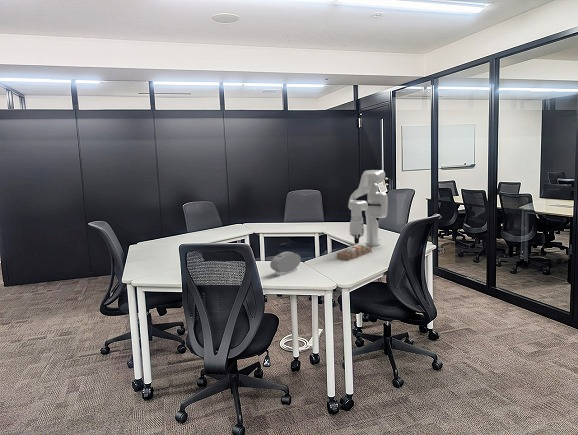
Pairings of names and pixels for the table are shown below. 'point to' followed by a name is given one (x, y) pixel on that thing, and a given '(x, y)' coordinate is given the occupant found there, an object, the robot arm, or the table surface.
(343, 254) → the console
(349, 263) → the table surface
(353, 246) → the terracotta key
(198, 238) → the table surface
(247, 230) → the table surface
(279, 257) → the alarm clock
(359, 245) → the sage key
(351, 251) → the cream key
